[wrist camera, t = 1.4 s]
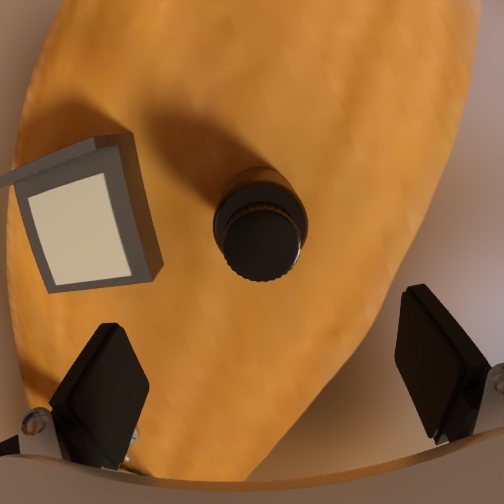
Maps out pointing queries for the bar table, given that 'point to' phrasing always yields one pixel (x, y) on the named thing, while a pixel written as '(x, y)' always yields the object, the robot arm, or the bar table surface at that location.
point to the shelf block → (88, 215)
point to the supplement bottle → (260, 224)
